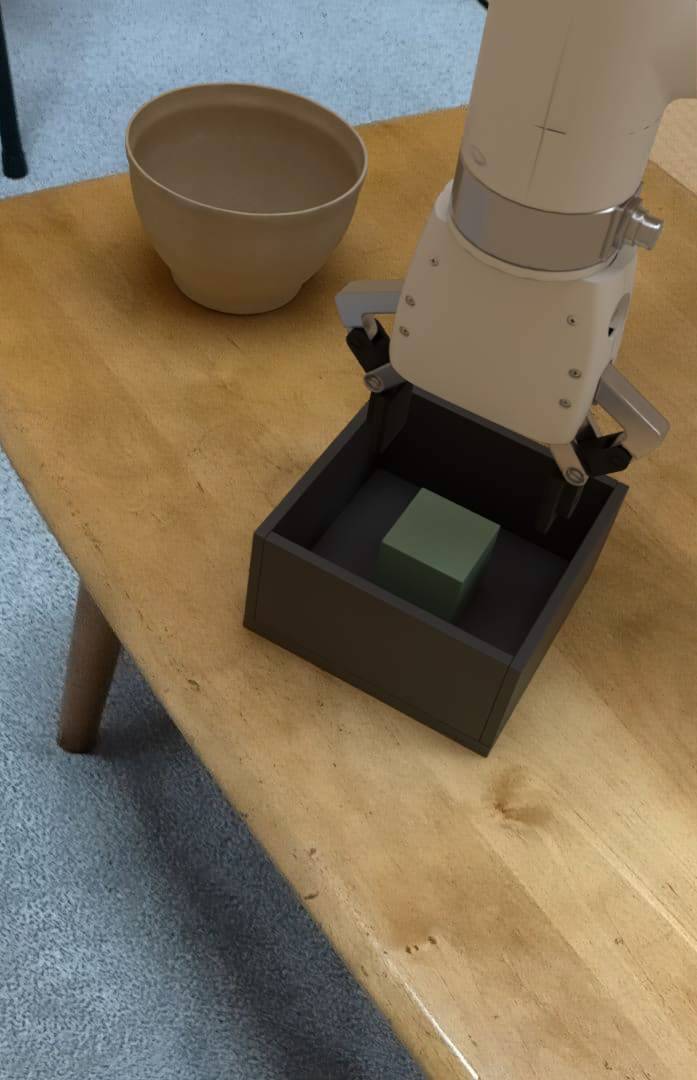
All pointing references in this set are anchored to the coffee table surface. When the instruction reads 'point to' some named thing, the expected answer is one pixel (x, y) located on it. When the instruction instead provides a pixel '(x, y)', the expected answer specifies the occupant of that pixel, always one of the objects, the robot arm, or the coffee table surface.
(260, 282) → the planter bowl
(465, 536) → the box
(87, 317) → the coffee table surface
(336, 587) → the basket
